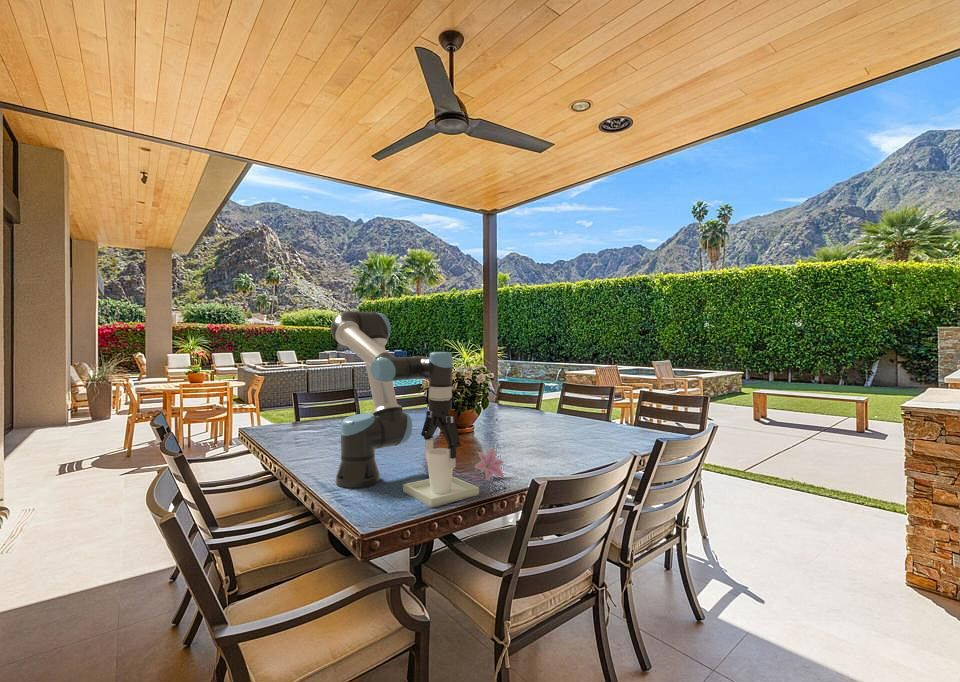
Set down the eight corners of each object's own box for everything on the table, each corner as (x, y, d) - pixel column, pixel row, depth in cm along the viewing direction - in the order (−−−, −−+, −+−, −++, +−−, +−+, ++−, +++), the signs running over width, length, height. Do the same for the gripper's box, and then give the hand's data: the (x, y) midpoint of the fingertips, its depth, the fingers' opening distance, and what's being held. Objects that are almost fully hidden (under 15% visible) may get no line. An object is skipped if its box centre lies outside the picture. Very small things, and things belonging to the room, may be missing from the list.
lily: (469, 483, 165) (478, 462, 162) (469, 462, 176) (477, 442, 173) (500, 491, 167) (509, 471, 164) (498, 470, 178) (507, 451, 175)
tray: (431, 507, 139) (431, 499, 139) (403, 491, 153) (403, 484, 153) (478, 495, 150) (478, 487, 150) (448, 481, 164) (448, 474, 164)
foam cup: (453, 495, 147) (453, 455, 146) (424, 495, 147) (424, 455, 147) (455, 486, 156) (455, 448, 156) (428, 485, 156) (428, 447, 156)
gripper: (472, 402, 144) (471, 470, 144) (430, 393, 163) (429, 453, 164) (452, 405, 139) (451, 474, 139) (411, 395, 159) (411, 456, 159)
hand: (439, 463), depth 152 cm, fingers open, 13 cm apart
